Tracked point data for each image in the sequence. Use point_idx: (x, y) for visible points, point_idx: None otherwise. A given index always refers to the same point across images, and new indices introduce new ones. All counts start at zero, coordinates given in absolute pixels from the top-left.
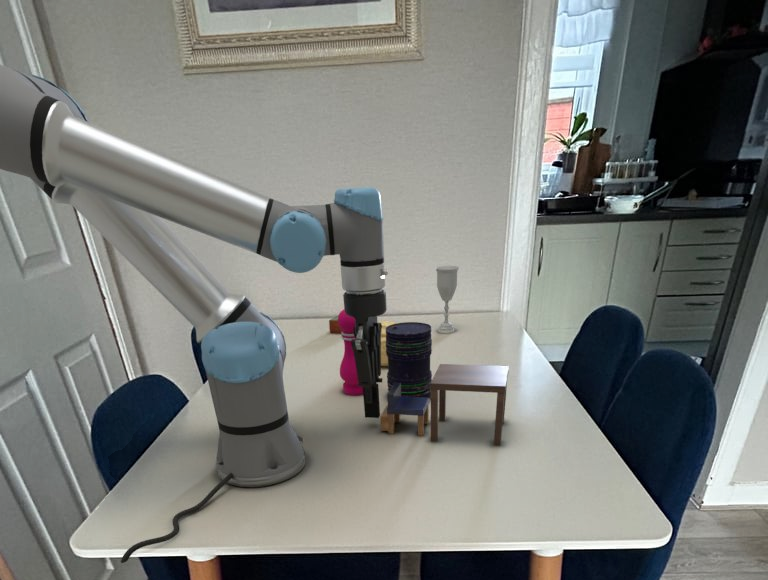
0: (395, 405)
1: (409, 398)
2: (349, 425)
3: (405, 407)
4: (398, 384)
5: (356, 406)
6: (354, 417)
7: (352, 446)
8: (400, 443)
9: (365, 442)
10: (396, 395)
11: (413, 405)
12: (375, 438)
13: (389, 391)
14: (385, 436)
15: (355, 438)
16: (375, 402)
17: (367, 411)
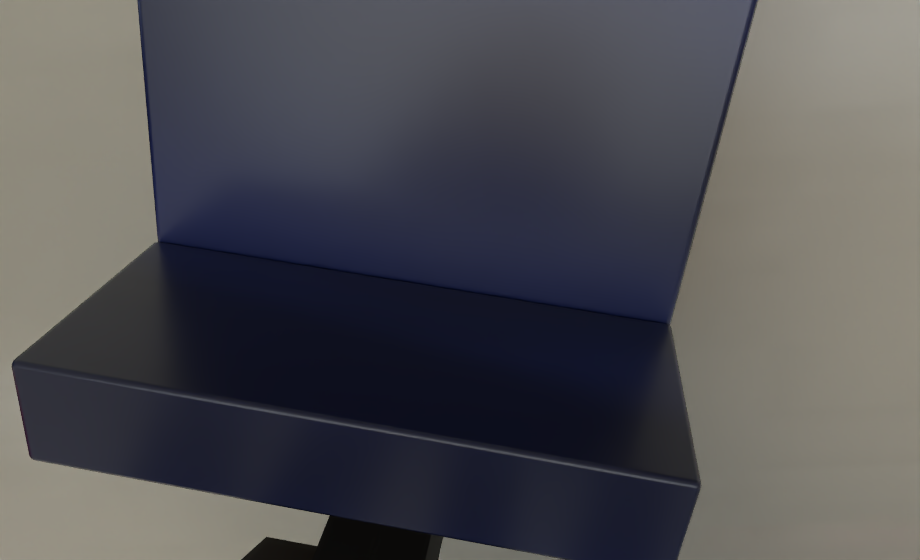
0: (563, 309)
1: (223, 102)
2: (440, 552)
3: (641, 147)
4: (125, 402)
5: (55, 520)
6: (275, 525)
7: (884, 517)
8: (912, 96)
9: (816, 427)
10: (455, 368)
11: (547, 4)
12: (735, 351)
13: (534, 547)
14: (696, 265)
15: (713, 503)
16: (431, 544)
17: None
